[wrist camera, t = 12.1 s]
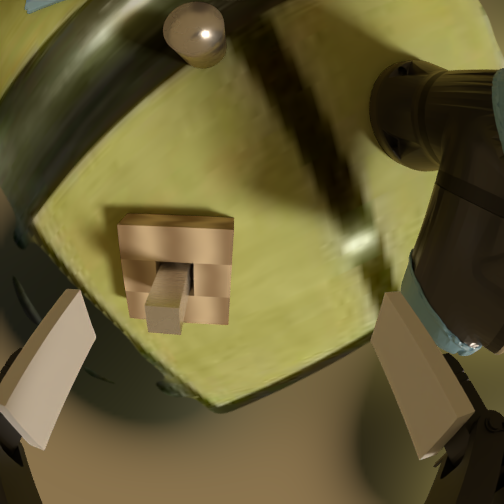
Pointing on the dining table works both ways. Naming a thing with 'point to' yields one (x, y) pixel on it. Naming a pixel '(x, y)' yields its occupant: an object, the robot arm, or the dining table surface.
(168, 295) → the square bit
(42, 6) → the blue flat panel
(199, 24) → the round bit
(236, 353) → the dining table surface
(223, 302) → the socket block
